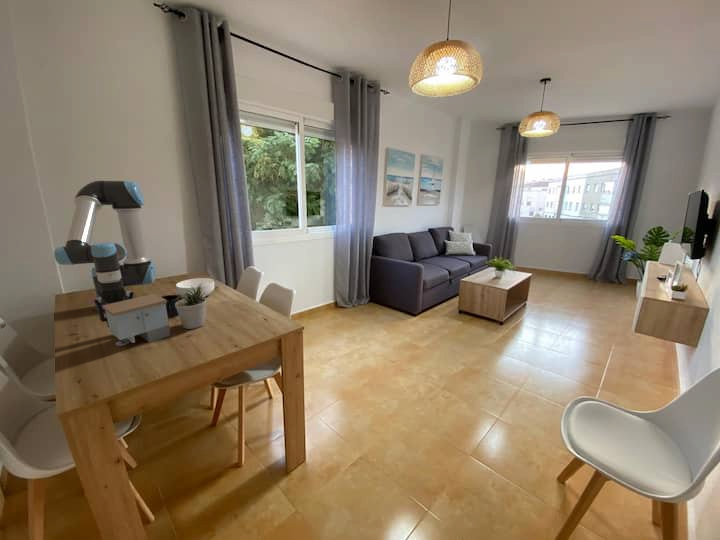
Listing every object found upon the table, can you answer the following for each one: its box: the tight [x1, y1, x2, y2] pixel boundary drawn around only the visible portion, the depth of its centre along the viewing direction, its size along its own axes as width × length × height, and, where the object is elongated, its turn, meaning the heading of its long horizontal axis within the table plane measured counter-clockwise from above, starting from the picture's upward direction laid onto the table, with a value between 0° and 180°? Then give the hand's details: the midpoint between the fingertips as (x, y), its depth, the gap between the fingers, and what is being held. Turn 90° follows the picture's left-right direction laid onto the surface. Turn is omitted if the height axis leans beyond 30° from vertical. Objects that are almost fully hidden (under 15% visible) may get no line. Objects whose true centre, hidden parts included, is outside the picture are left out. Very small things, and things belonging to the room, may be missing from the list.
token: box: [115, 338, 131, 348], centre depth 119 cm, size 4×4×1 cm
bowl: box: [175, 277, 215, 299], centre depth 174 cm, size 20×20×8 cm
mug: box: [161, 294, 180, 319], centre depth 146 cm, size 9×12×9 cm
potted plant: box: [175, 285, 208, 330], centre depth 134 cm, size 13×14×20 cm
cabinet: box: [102, 293, 171, 344], centre depth 121 cm, size 14×18×16 cm
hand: (121, 332), depth 127 cm, fingers closed on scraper, 4 cm apart
